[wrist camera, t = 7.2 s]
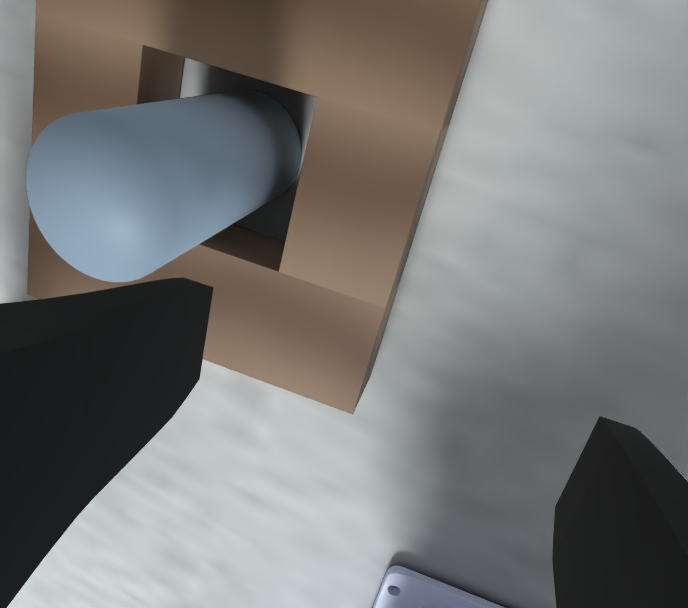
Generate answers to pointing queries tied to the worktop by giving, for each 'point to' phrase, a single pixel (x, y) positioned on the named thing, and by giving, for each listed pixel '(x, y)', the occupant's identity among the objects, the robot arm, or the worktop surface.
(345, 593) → the worktop surface
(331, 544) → the worktop surface
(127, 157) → the peg
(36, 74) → the socket block
